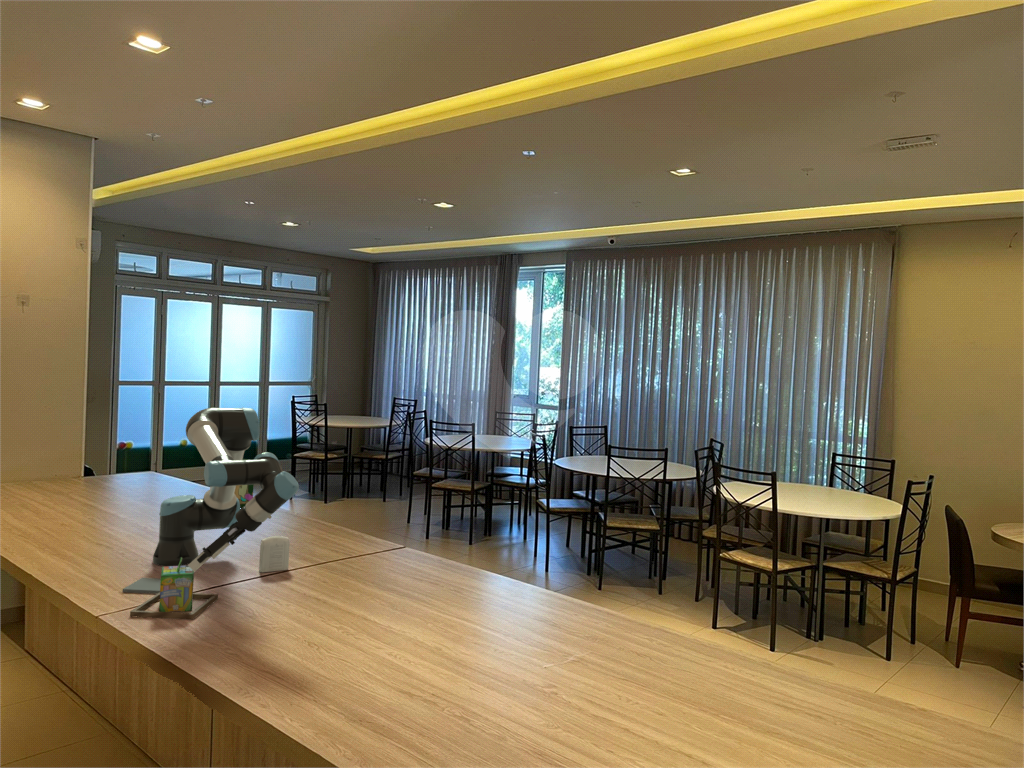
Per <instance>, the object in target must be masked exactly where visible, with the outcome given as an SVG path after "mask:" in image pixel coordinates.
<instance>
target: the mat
mask: <svg viewBox="0 0 1024 768" xmlns="http://www.w3.org/2000/svg"><path fill="white" fill-rule="evenodd" d="M160 582H161V577H160V578H155V577H141V578H139V579H137V580H135V581H134V582H133V583H130V584H129V585H127V586H125V587H124V588H122V593H128V594H129V593H134V594H149V595H150V594H152V595H153V594H154V595H156V594H158V593H159V592H160Z"/></svg>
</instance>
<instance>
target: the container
mask: <svg viewBox="0 0 1024 768" xmlns="http://www.w3.org/2000/svg"><path fill="white" fill-rule="evenodd" d="M242 460H248V459H247V458H243V459H242ZM254 485H255V484H253V485H236V488H235V492H234V494H235V495H236V497H237V498H238V500H239V502H240V508H242V507H244V506H246V504H247V503H248V502H249V501H250V500H251V499H252V498H253V497H254Z"/></svg>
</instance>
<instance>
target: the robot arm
mask: <svg viewBox="0 0 1024 768" xmlns="http://www.w3.org/2000/svg"><path fill="white" fill-rule="evenodd" d="M260 433H261V432H260V421H259V416H258V413H257V411H256V410H255V409H254V408H250V407H249V408H248V407H207V408H203V409H201V410H199V411H197V412H196V413H194V414H193V415H192V416H191V417H190V418H189V419H188V421H187V424H186V427H185V436H186V438H187V440H188V441H189V443H190V444H191V445H192V446H195V447H196V449H197V451H198V452H199V454H200V457H201V459H202V460H203V462H204V463H205V466H204V470H203V479H204V483H205V485H206V486H207V487H209V489H208V490H207V491H206V492H205V493H204V495H203V498H196V495H193V494H188V495H186V494H185V495H184V494H183V495H177V496H172V497H169V498H168V497H167V499H164V500H163V501H162V502H161V504H160V508H159V509H160V510H159V535H158V542H157V545H156V547H155V549H154V552H153V555H152V563H153V565H156V566H161V567H166V566H178V565H179V562H180V559H181V557H182V563H181V566H186V565H187V566H189V567H190V568H191V569H192V570H193V571H194V573H195V572H196V571H198V569H199V568H201V567H202V566H203V565H204V564H205V563H206V562H208V560H210V558H212V560H214V559H216V558H217V557H218V556H219V555H221V553H222V552H223V551H225V550H226V549H227V548H228V547H229V546H230V545H231V546H233V545H234V544H236V542H235V541H236V540H237V539H238V538H239V537H240V536H242V535H243V534H244V533H246V531H247V532H250V533H251V532H254V531H256V530H257V529H258V528H259V527H260V526H261V525H262V524H263V523H264V522H265V521H266V520H271V519H272V515H273V514H274V513H275V512H277V511H278V510H279V509H280V508H281V507H282V506H283V505H284V504H286V502H288V501H290V500H291V499H292V497H293V496H294V495H295V494H296V493H297V491H299V488H300V484H299V483H298V480H296V478H295V477H294V475H292V474H291V473H290V472H288V471H285V470H283V467H282V464H281V462H280V461H279V459H278V457H277V455H275V454H274V453H272V452H268V451H266V452H262V453H260V454H257V455H256V456H255V457H254V458H253V459H247V460H242V459H244V454H245V451H246V450H248V449H249V448H250V447H251V445H252V441H253V442H257V441H258V440H259V438H260ZM253 484H254V485H260V488H261V490H260V491H258V493H256V495H253V498H252V499H251V500H250V501H249V502H248V503H247V504H246V506H244V507H242V508H241V509H240V502H239V500H238V498H237V497H236V495H235V494H234V492H235V488H236V485H253ZM254 485H253V486H254ZM220 529H221V530H222V529H226V530H224V531H223V532H222V534H220V536H219V537H217V539H214V541H213V542H212V543H210V544H209V545H208V546H207V547H202V552H200V554H199V551H198V548H197V544H196V540H195V532H196V531H207V530H208V531H210V530H220ZM185 564H186V565H185Z"/></svg>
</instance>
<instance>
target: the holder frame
mask: <svg viewBox="0 0 1024 768" xmlns="http://www.w3.org/2000/svg"><path fill="white" fill-rule="evenodd" d="M207 599H208V600H207ZM218 599H219V594H218V593H201V592H193V600H206V601H204V602H203V603H201V604H200V605H199V606H198V607H196V608H195V609H194V610H193V611H191V612H159V611H155V610H152V611H151V610H147V609H148V608H149V607H150V606H152V605H153V604H155V603H156V602H158V601H160V592H159V593H158V594H154V596H152V597H150V598H149V599H147V600H145V601H144V602H142V603H141V604H139V605H138V606H136V607H135V608H134V609H131V610H130V613H129V616H137V617H136V618H147V617H152V618H151V619H174V620H175V619H176V620H192V621H193V620H194V619H195V618H197V616H200V614H202V613H203V612H204V611H205V610H206V609H208V608H209V607H210V606H211V605H212V604H214V603H216V601H218ZM213 602H214V603H213ZM208 606H209V607H208ZM207 607H208V608H207Z"/></svg>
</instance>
